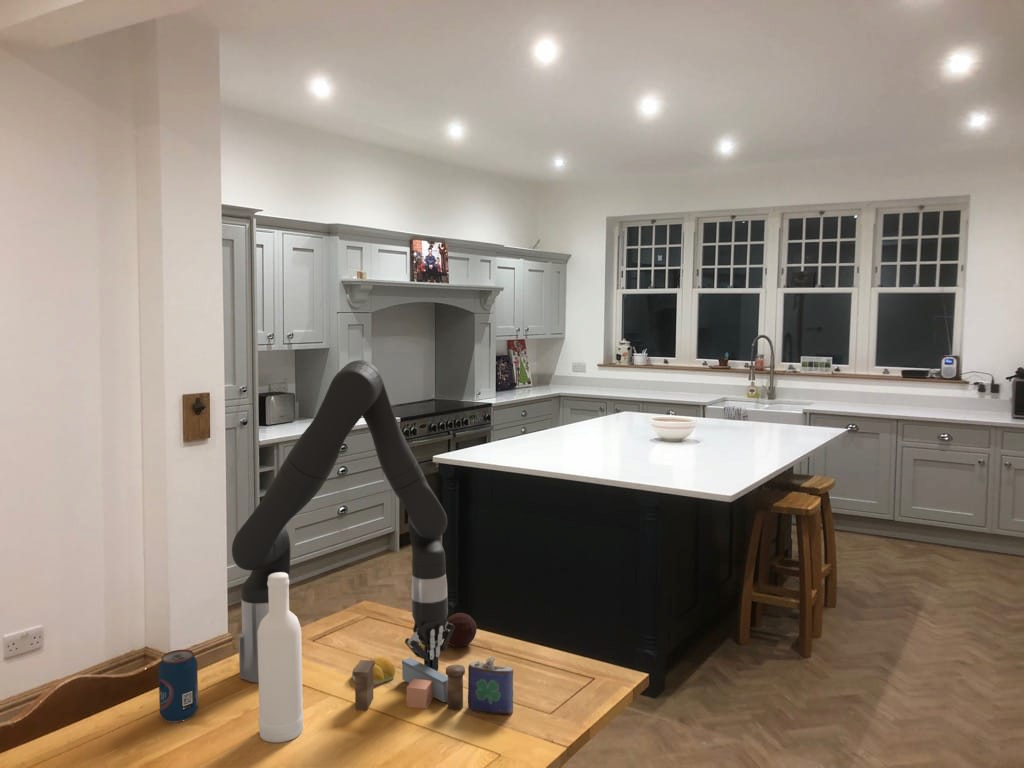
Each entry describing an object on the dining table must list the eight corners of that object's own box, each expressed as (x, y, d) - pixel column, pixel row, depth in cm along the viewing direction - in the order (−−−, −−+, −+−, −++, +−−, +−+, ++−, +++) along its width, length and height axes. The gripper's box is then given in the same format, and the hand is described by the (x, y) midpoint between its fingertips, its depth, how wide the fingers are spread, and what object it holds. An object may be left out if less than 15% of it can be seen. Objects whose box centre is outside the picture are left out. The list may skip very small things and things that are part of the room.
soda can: (153, 716, 156) (151, 656, 155) (187, 703, 162) (186, 645, 161) (170, 728, 152) (168, 666, 151) (205, 714, 157) (203, 654, 156)
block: (425, 708, 160) (425, 689, 159) (406, 706, 161) (406, 687, 160) (432, 699, 164) (432, 680, 163) (413, 697, 165) (413, 678, 164)
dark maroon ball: (475, 637, 196) (475, 606, 195) (478, 652, 186) (478, 620, 186) (441, 638, 194) (441, 607, 194) (443, 654, 185) (443, 622, 185)
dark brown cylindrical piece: (444, 711, 159) (444, 672, 158) (447, 702, 162) (447, 664, 162) (463, 711, 158) (463, 673, 158) (466, 702, 162) (466, 665, 161)
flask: (514, 710, 159) (514, 657, 158) (510, 717, 156) (510, 663, 155) (470, 704, 162) (469, 652, 161) (465, 711, 159) (465, 658, 158)
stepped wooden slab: (353, 710, 159) (353, 672, 158) (360, 697, 164) (360, 659, 164) (368, 710, 159) (368, 672, 158) (375, 697, 164) (374, 660, 164)
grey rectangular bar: (452, 700, 163) (452, 678, 162) (443, 703, 161) (443, 682, 161) (410, 677, 173) (410, 657, 173) (402, 680, 172) (401, 660, 171)
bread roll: (402, 677, 174) (402, 659, 174) (368, 690, 168) (368, 672, 167) (379, 665, 180) (378, 648, 180) (345, 678, 173) (345, 660, 173)
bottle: (310, 723, 154) (307, 569, 151) (292, 745, 146) (289, 583, 143) (271, 720, 155) (267, 567, 152) (251, 741, 147) (247, 580, 145)
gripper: (418, 608, 163) (420, 690, 164) (464, 590, 173) (465, 668, 174) (393, 599, 167) (396, 680, 169) (439, 582, 177) (441, 658, 179)
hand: (431, 673), depth 172 cm, fingers closed
